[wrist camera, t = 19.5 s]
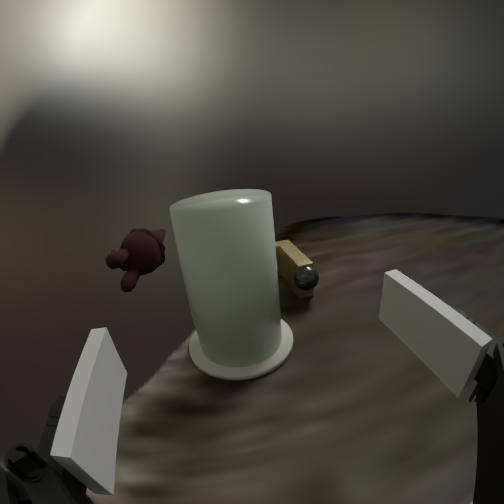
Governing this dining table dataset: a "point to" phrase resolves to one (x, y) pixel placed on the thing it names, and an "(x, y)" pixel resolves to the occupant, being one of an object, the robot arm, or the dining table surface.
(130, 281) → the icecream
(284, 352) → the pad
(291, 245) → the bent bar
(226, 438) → the dining table surface
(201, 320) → the tall sage cylinder
